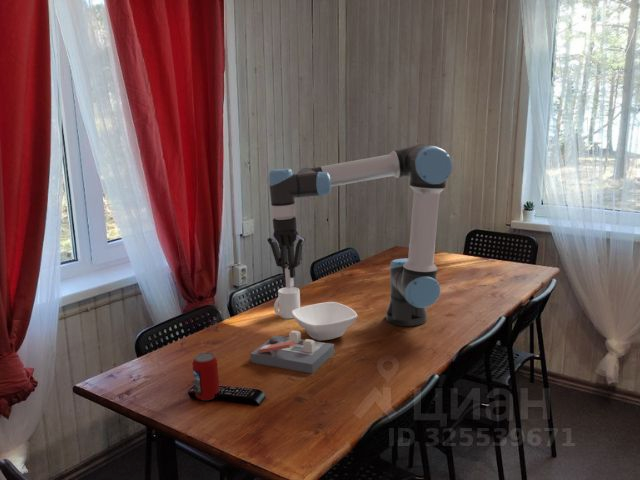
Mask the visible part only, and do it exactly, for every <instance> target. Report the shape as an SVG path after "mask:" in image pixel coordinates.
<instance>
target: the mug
mask: <svg viewBox="0 0 640 480" xmlns="http://www.w3.org/2000/svg"><path fill="white" fill-rule="evenodd" d="M300 292H301V291H300V288H298V287H295V286H293V287H291V288H286V286H285V287H282V288H279V289H278V290H277V296H278V297H277V298H276V299H275V301H274V304H273V309H274V312H275V314H276V315H277V316H279V317H281V319H285V320H287V319H288V320H291V319H292V318H293V319H295V318H294V317H293V316H292V310H295V309H297V308H300V307H301V296H300V295H301V293H300ZM293 319H292V320H293Z"/></svg>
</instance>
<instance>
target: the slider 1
mask: <svg viewBox="0 0 640 480" xmlns="http://www.w3.org/2000/svg"><path fill="white" fill-rule="evenodd" d="M288 337H289V340H290V341H293V340H294V341H295V343H299V342H300V341H301V339H302V333H301V331H299V330H291V331H290V332H289V333H288Z"/></svg>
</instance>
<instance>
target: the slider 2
mask: <svg viewBox="0 0 640 480" xmlns="http://www.w3.org/2000/svg"><path fill="white" fill-rule="evenodd" d="M304 340H305V341H304V342H303V351H304V352H310V353H312V352H313V351H315V341H316V340H315V339H308V338H306V339H304Z"/></svg>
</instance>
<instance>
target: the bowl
mask: <svg viewBox="0 0 640 480" xmlns="http://www.w3.org/2000/svg"><path fill="white" fill-rule="evenodd" d="M292 316H293V317H294V318H293V319H294V320H295V321H296V323H297V324H298V326H300V327H301V328H302V329H304V330H305V333H307V334H308V336H309V337H311V338H312V339H313V340H315V341H317V342H322V341H328V340H333V339H334V340H335V339H337V338H339V337H341V336H343V335H344V334H345V332H346V331H347V330H348V327H351V326H352V325H354V323H355V321H356V320H357V319H358V313H357V312H356V311H355V310H354V309H352V308H351V307H350V306H347V305H345V304H342V303H340V302H336V301H327V302H320V303H314V304H309V305H304V306H302V307H301V306H300V308H297V309H295V310H292Z"/></svg>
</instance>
